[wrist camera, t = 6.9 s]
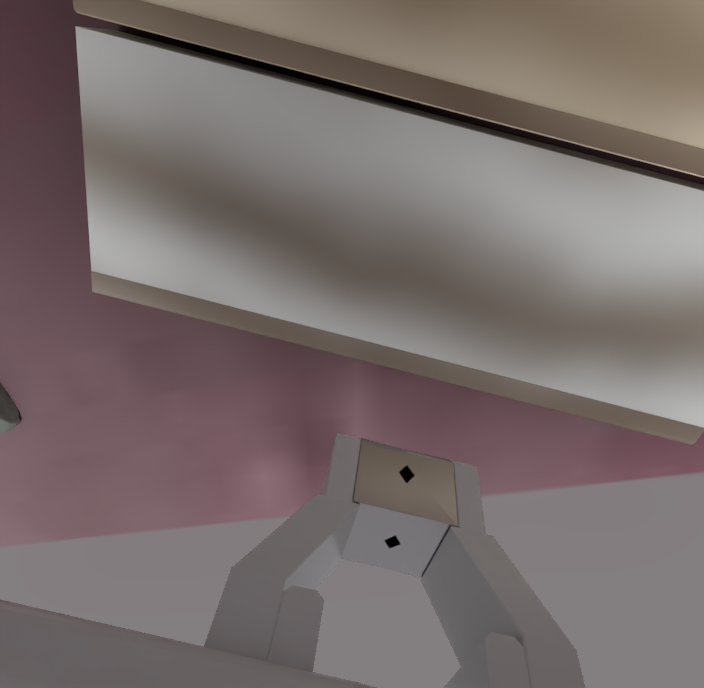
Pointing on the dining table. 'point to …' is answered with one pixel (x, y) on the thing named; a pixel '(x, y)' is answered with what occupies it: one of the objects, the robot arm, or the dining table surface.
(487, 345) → the board
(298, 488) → the dining table surface
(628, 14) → the thin beige board
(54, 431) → the dining table surface
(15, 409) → the stone slab
